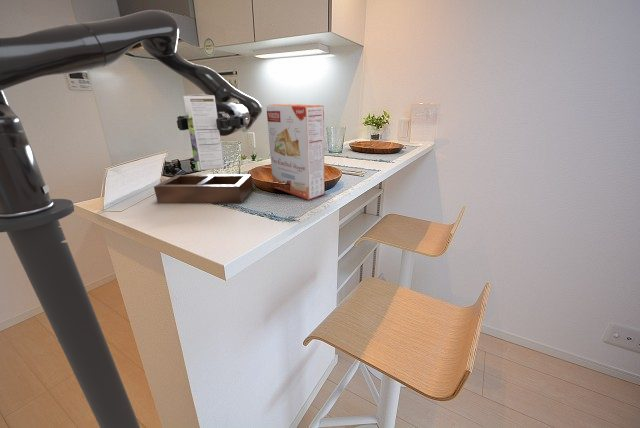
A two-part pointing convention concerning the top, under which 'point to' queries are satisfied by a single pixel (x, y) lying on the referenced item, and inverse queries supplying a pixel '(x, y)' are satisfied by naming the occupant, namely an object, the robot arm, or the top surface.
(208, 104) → the syrup box
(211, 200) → the wooden serving tray
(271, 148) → the cracker box
